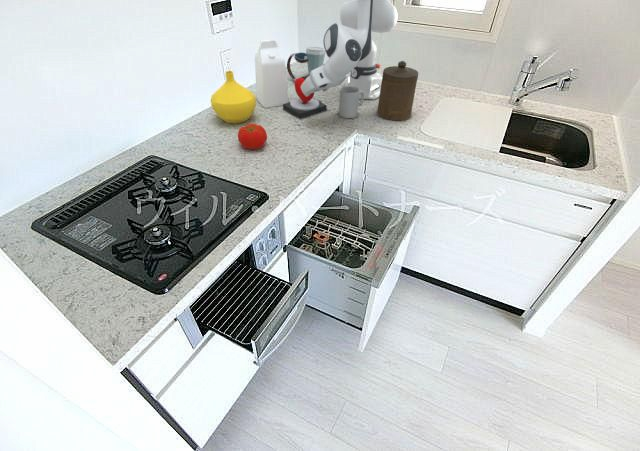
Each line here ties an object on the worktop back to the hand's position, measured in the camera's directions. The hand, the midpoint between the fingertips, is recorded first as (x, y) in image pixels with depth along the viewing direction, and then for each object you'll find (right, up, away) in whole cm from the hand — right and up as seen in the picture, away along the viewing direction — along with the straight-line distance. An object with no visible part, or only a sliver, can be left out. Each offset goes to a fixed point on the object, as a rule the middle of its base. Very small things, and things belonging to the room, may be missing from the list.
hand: (315, 92), depth 142 cm
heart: (-5, -1, +9) cm, 10 cm away
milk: (-20, +2, +18) cm, 27 cm away
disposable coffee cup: (-1, +26, +44) cm, 51 cm away
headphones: (-7, +19, +36) cm, 41 cm away
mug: (+16, -6, +9) cm, 19 cm away
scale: (-5, -4, +11) cm, 13 cm away
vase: (-34, -10, +3) cm, 36 cm away
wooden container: (+35, -6, +10) cm, 37 cm away
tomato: (-23, -26, -14) cm, 38 cm away
